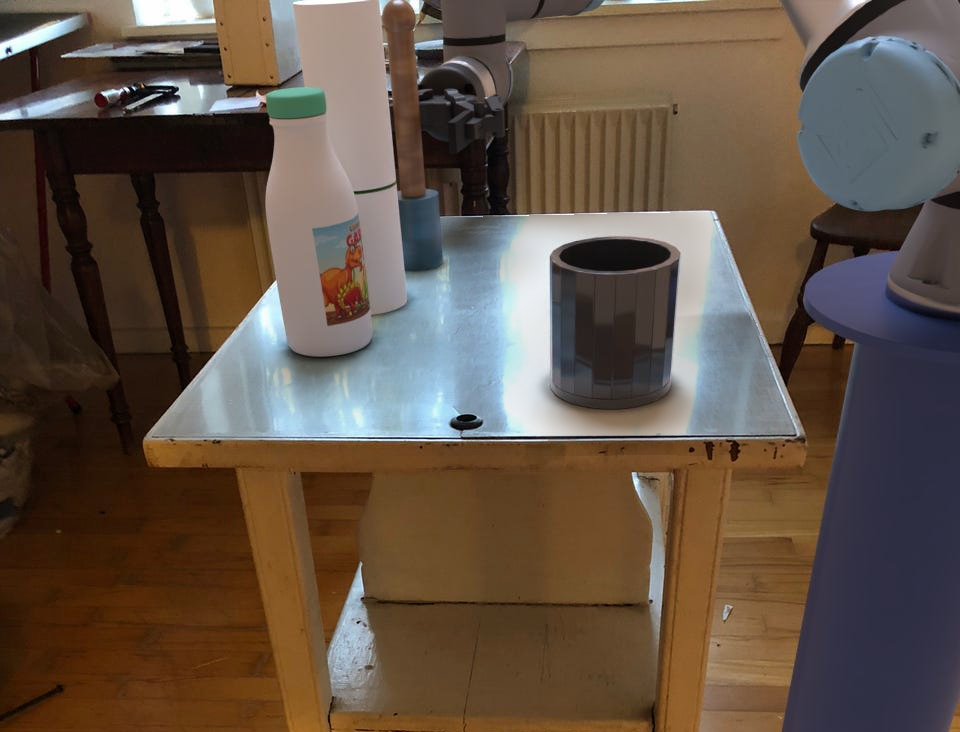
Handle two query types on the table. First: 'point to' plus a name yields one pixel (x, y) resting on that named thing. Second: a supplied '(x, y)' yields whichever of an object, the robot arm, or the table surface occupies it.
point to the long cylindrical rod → (410, 145)
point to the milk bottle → (314, 231)
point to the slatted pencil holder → (613, 320)
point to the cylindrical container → (358, 128)
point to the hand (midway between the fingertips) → (395, 138)
